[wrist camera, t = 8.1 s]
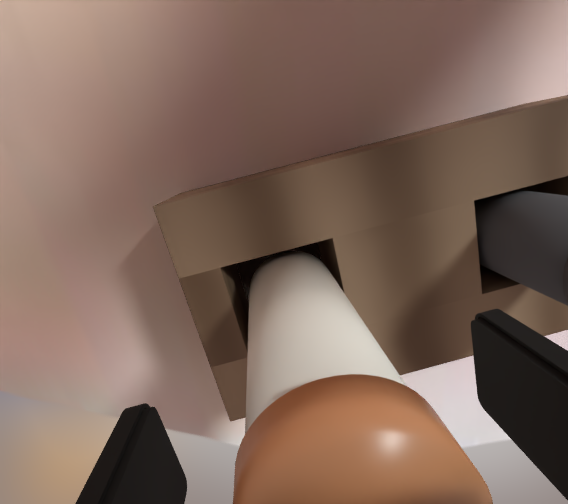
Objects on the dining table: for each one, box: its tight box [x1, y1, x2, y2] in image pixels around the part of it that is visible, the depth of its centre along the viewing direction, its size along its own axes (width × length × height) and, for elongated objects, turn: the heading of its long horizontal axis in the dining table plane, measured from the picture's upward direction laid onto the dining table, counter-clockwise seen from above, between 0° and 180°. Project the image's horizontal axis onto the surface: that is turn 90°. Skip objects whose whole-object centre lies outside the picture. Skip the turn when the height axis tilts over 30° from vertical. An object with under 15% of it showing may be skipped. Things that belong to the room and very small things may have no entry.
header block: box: [153, 95, 568, 421], centre depth 20 cm, size 22×12×6 cm, turn 104°
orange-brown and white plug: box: [233, 251, 493, 504], centre depth 12 cm, size 5×5×12 cm
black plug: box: [474, 190, 568, 306], centre depth 17 cm, size 5×5×12 cm
